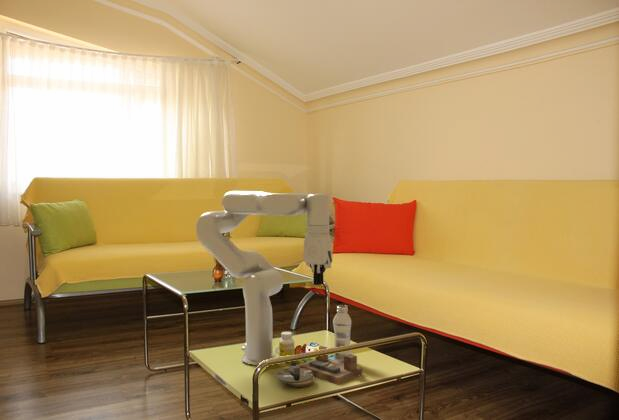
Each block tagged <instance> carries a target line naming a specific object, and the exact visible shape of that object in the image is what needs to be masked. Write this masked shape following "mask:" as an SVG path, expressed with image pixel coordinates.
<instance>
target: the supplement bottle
mask: <svg viewBox="0 0 619 420" xmlns="http://www.w3.org/2000/svg"><path fill="white" fill-rule="evenodd" d="M280 336H281V338H280V340H279V345H278V346H279V357H280V356H286V355H293V354H294V353H295V340H294V338H293V332H291V331H282V332H280Z"/></svg>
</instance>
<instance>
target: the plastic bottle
mask: <svg viewBox="0 0 619 420" xmlns="http://www.w3.org/2000/svg"><path fill="white" fill-rule="evenodd" d="M336 312H337V313H336V314H335V316H334V317H333V319H332V325H333V331H334V332H333V333H334V344H333V345H334V347H340V346H345V345H349V344H351V329H352V318H351V316H350V315H349V313H348V312H349V309H348V305H345V304H339V305H336ZM348 354H352V355H353V352H352V349H351V350H350V351H345V352H340V353H336V354H332V356H333V360H335V361H338V362H342V363H344V356H345V355H348Z"/></svg>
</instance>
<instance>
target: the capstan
mask: <svg viewBox="0 0 619 420" xmlns="http://www.w3.org/2000/svg"><path fill="white" fill-rule="evenodd" d="M289 363H290V366H289V367H288V368H284V369H280V370H279V371H277V372H276V379H277V380H278V381H279V382H282V383H283V382H284V384H285V385H287V386H289V387H292V388H306V387H309V386H311V385H313V384H314V378H315V376H314V375H313V372H312V371H311V370H308V369H304V368H300V366H299V364H297V360H296V361H291V362H289Z"/></svg>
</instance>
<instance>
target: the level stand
mask: <svg viewBox="0 0 619 420" xmlns="http://www.w3.org/2000/svg"><path fill="white" fill-rule="evenodd" d="M318 347H319V349H326V348H328V346H327V347H326V346H323V345H321V346H318ZM298 365H299V366H300V368H304V369H308V370H311V371H312V372H313V375H314V378H319V379H322V380H324V381H327V382H330V383H333V384H336V385H339V384H342V383H344V381H345V382H347V381H349V379H350V380H352V379H354V377H355V378H357V377H360V376H362V375H363V368H361V367H358V356H357V355H355V354H353V353H352V354H348V355H345V356H344V363H342V362H338V361H335V360H334V359H332V358H329V354H328V355H323V356H318V357H316V356H315V359H312V360H309V361H306V362H302V363H299V364H298ZM359 375H360V376H359Z"/></svg>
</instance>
